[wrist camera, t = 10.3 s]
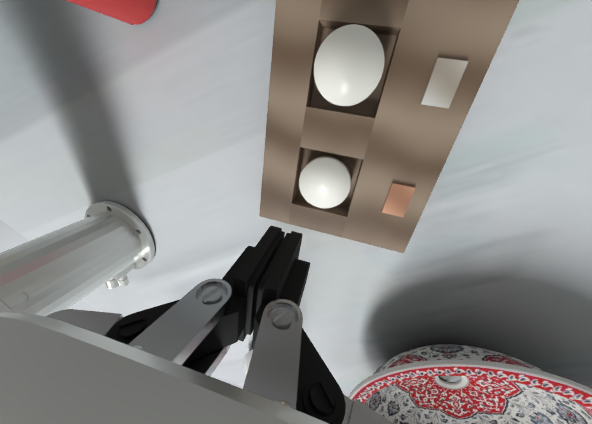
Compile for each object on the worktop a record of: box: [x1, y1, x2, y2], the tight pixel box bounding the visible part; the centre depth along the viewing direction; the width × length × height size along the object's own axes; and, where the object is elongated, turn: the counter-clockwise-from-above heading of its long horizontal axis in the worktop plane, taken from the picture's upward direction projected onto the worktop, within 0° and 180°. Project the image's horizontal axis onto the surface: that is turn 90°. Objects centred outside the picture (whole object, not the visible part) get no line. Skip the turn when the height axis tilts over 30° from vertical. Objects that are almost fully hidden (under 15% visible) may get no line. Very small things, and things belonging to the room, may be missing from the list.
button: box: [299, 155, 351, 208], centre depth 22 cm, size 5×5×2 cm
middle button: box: [314, 24, 384, 106], centre depth 17 cm, size 5×5×2 cm
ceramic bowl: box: [348, 344, 592, 424], centre depth 29 cm, size 29×29×8 cm
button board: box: [260, 0, 519, 253], centre depth 19 cm, size 30×16×3 cm, turn 172°
